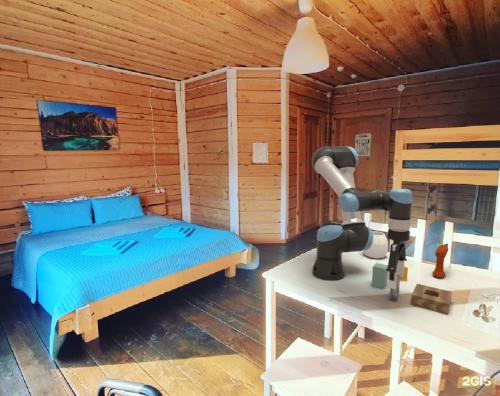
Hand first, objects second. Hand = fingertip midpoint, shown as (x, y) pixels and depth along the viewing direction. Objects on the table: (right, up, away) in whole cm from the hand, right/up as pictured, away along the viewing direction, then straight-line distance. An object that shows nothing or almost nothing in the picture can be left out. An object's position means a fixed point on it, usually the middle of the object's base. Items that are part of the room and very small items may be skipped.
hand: (395, 281), depth 114 cm
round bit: (0, -8, +2) cm, 8 cm away
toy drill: (+35, -3, +27) cm, 45 cm away
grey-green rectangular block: (0, -6, +14) cm, 15 cm away
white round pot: (+13, 0, +50) cm, 51 cm away
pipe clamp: (+13, -4, +24) cm, 28 cm away
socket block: (+13, -8, -1) cm, 15 cm away
